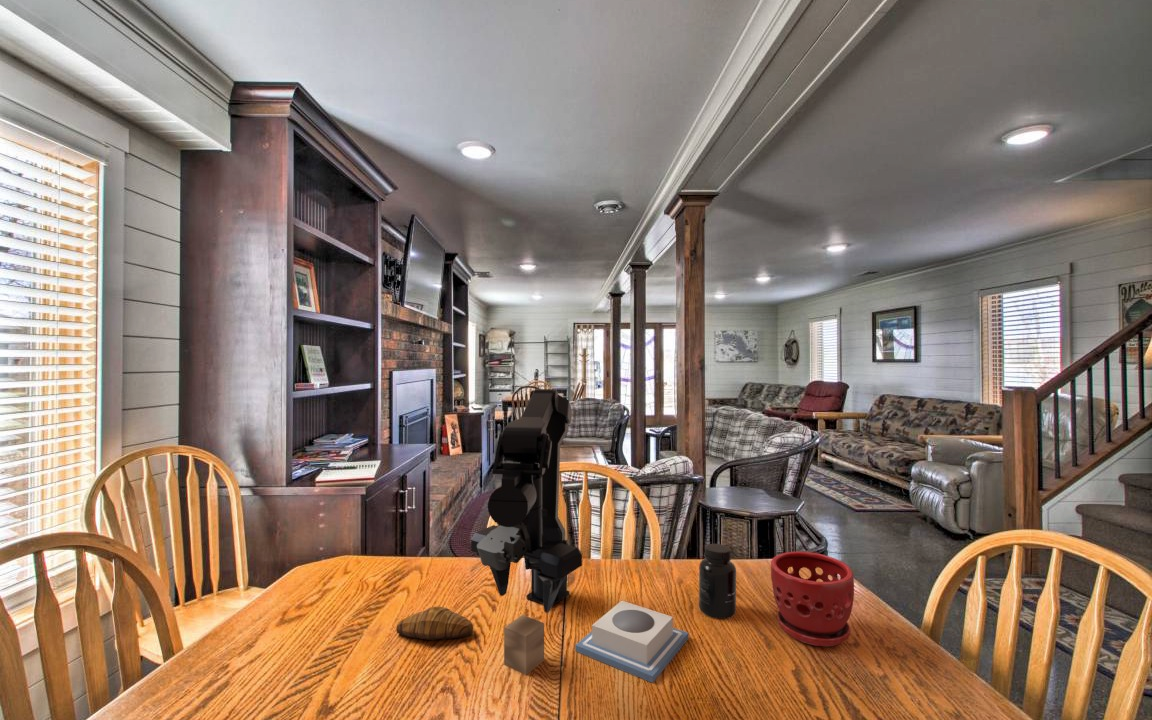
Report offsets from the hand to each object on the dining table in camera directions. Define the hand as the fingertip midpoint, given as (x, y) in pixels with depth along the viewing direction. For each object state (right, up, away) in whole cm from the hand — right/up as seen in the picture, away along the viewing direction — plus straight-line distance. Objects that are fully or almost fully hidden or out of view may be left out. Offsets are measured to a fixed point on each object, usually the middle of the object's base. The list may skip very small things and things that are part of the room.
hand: (524, 602), depth 78 cm
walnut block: (0, -10, 0) cm, 10 cm away
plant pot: (+49, -10, +8) cm, 51 cm away
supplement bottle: (+35, -10, +16) cm, 40 cm away
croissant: (-17, -10, +8) cm, 21 cm away
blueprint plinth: (+18, -9, +5) cm, 21 cm away
